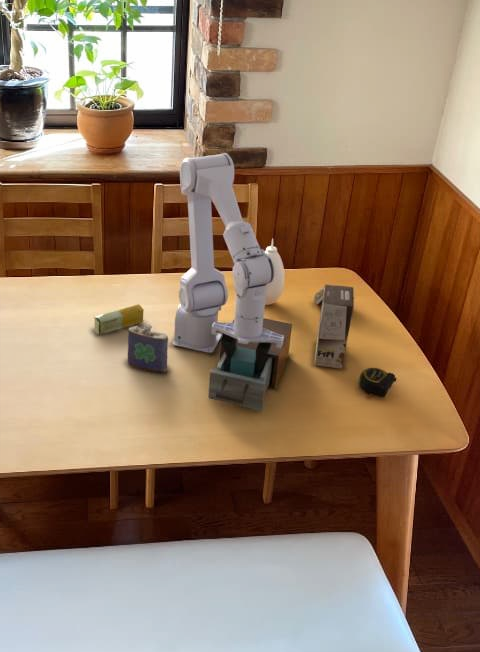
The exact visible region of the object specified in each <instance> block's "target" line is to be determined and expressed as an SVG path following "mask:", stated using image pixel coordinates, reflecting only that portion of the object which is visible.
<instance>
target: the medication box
mask: <svg viewBox="0 0 480 652" xmlns="http://www.w3.org/2000/svg"><path fill="white" fill-rule="evenodd" d="M144 310H145V309H144V308H143V307H142V306H141V304H139V303H138V304H135V305H131V306H127V307H124V308H120V309H117V310H113V311H109V312H107V313H103V314H99V315H95V316H94V317H93V319H94V326H93V330H94V332H95V333H96V334H97V335H98V336H100V335H103V334H106V333H110V332H113V331H117V330H121V329H123V328H124V329H125V328H127V327H132V326H134V325H138V324H141V323H143V322H144V312H145V311H144Z"/></svg>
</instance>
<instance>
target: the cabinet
mask: <svg viewBox="0 0 480 652" xmlns="http://www.w3.org/2000/svg"><path fill="white" fill-rule="evenodd" d="M231 323H234V319H233V320H232V322H231ZM262 328H265V329H267V330H269V331H272V332H274V333H276V334H279V335H283V336H284V340H283V345H282V347H281V348H277V347H276V345H271V347H270V349H269V351H268V353H267V355H266V356H267V357H271V358H275V359H274V367H273V375H272V378H271V380H270V383H269V385H268V387H267V389H271V390H275V389H276V387H277V384H278V383H279V380H280V377H281V375H282V373H283V370H284V367H285V365H286V363H287V361H288V357H289V353H290V346H291V339H292V337H291V336H292V329H293V323H291V322H286V321H280V320H277V319H270V318H265V317H263V326H262ZM219 344H220V343H219ZM258 344H259V342H248V344H242V343H239V342H238V339H237V341H236V348H237V347H242V348H247V349H251V350H256V348H257V346H258ZM236 348H235V350H236ZM224 352H225V351H224V349H223V347H222V346H221V344H220V346H219V358H218V359H219V360H218V363H219V362H220V360H221V358H222V356H223V354H224Z"/></svg>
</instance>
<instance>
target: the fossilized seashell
mask: <svg viewBox="0 0 480 652" xmlns="http://www.w3.org/2000/svg"><path fill="white" fill-rule="evenodd" d="M324 288H325V285H323V287H322V288H320V289H318V290H317V291H316V293H315V294H314V299H313V300H314V301H313V302H314V305H316V306H319V307H322V301H323V295H324Z"/></svg>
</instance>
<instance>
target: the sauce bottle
mask: <svg viewBox="0 0 480 652" xmlns="http://www.w3.org/2000/svg"><path fill="white" fill-rule="evenodd" d="M270 243H271V244H270V245H269V246H267V247H266V248H265V250H264V251H265V253H266V254H268V255H269V256H270V257H271V259H272V262H273V266H274V279H273V281H272V282H271V283H268V284H267V289H266V298H265V306H269V305H273V303H277V301H278V300H279V298H280V297H281V296H282V294H283V290H284V286H285V279H286V278H285V277H286V276H285V267H284V263H283V261H282V258H281V255H280V254H279V252H278V248H277V247H276V246H274V237H272V239H271V242H270Z"/></svg>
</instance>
